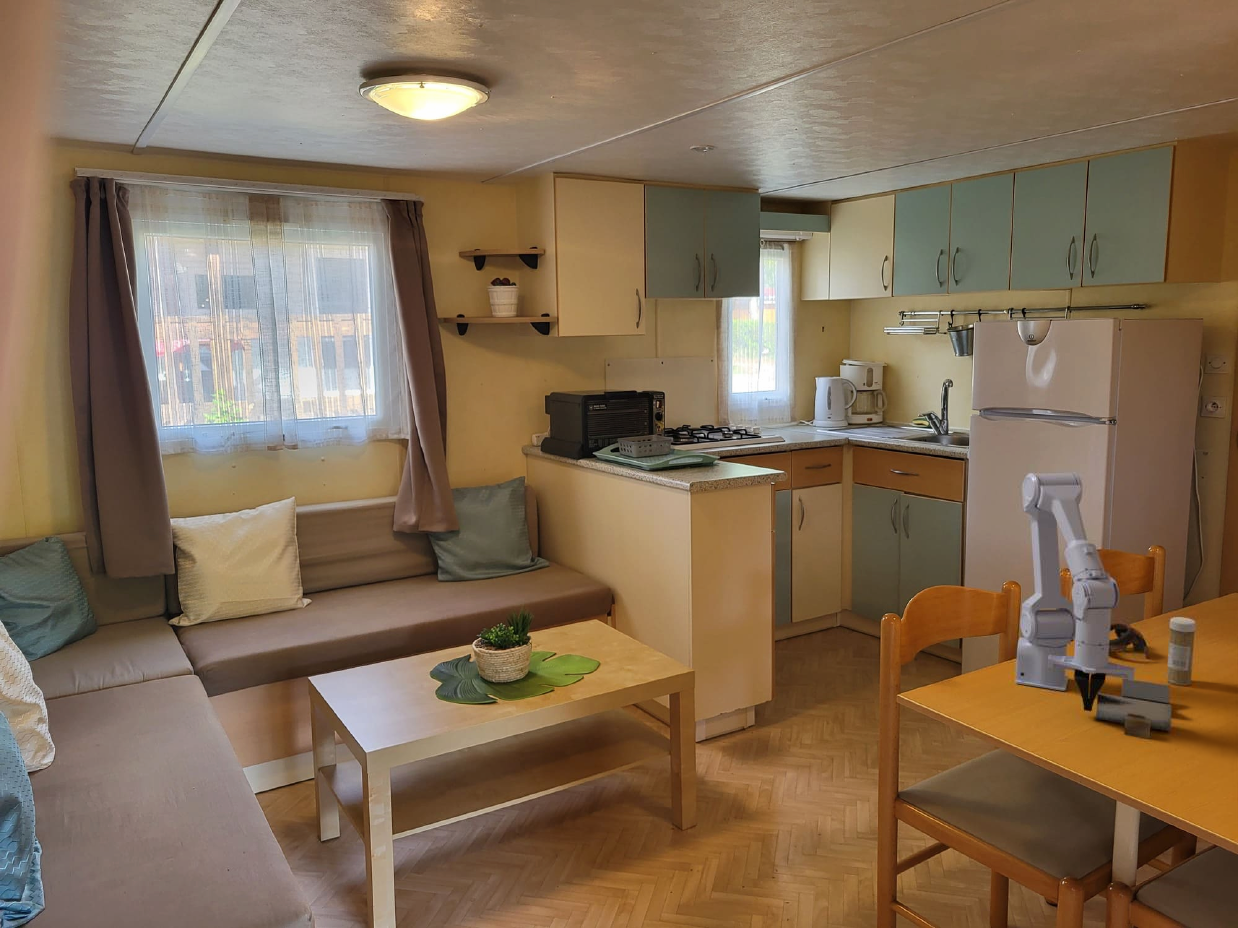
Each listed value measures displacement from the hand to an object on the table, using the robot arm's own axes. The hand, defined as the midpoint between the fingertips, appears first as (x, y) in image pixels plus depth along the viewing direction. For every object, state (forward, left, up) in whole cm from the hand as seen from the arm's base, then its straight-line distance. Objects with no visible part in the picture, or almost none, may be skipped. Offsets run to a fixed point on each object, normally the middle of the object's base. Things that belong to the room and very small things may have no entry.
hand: (1088, 708), depth 177 cm
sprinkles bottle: (+15, +27, -2) cm, 31 cm away
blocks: (+8, 0, -2) cm, 8 cm away
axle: (+7, 0, -2) cm, 8 cm away
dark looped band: (+5, +41, -2) cm, 41 cm away
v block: (+9, +11, -2) cm, 14 cm away
